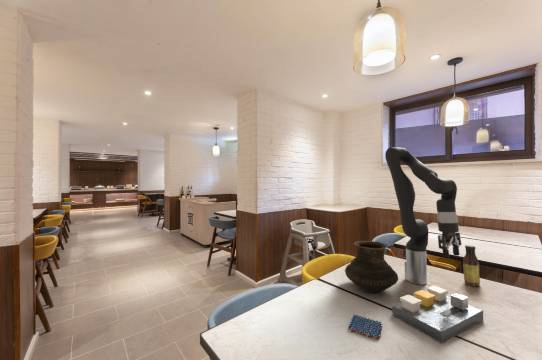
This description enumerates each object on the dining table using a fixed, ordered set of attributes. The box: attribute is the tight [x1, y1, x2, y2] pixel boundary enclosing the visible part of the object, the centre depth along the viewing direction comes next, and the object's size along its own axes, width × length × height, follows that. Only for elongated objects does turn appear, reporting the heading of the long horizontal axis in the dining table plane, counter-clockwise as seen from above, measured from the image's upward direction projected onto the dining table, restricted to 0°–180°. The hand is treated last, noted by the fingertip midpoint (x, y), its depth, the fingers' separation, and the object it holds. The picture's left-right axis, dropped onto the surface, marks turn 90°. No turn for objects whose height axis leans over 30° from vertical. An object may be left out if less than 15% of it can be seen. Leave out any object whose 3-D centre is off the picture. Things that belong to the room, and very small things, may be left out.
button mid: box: [413, 289, 436, 307], centre depth 94 cm, size 5×5×6 cm
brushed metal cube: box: [450, 292, 469, 310], centre depth 90 cm, size 4×4×4 cm
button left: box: [399, 294, 422, 313], centre depth 90 cm, size 5×5×6 cm
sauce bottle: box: [462, 244, 481, 287], centre depth 119 cm, size 6×6×20 cm
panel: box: [391, 291, 484, 344], centre depth 90 cm, size 18×28×4 cm, turn 116°
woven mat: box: [347, 314, 383, 341], centre depth 84 cm, size 10×11×2 cm
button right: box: [426, 285, 449, 302], centre depth 98 cm, size 5×5×6 cm
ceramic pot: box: [344, 240, 399, 294], centre depth 114 cm, size 24×24×22 cm
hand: (451, 256), depth 105 cm, fingers open, 8 cm apart
